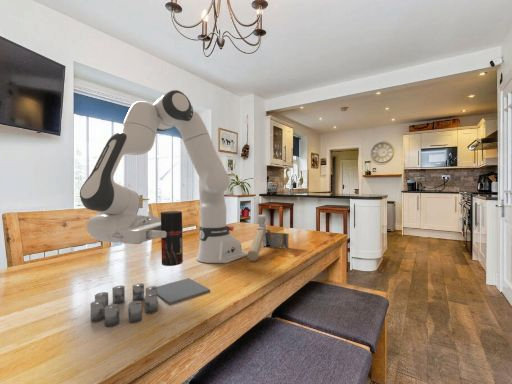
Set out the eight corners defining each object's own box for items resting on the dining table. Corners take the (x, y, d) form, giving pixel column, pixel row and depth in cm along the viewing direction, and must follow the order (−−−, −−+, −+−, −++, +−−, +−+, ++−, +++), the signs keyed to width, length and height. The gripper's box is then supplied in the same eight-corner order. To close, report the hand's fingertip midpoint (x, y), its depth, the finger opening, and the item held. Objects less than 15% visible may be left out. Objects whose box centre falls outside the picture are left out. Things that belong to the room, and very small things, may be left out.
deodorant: (182, 265, 76) (181, 213, 76) (160, 266, 75) (159, 213, 75) (183, 259, 82) (182, 210, 82) (163, 260, 81) (162, 211, 80)
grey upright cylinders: (146, 292, 80) (145, 279, 80) (169, 311, 69) (169, 295, 68) (83, 309, 69) (83, 294, 69) (99, 335, 58) (99, 317, 58)
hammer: (257, 239, 109) (266, 214, 137) (246, 239, 110) (257, 214, 138) (259, 273, 113) (267, 242, 142) (248, 273, 114) (258, 242, 142)
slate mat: (188, 279, 91) (188, 278, 91) (210, 291, 81) (210, 289, 81) (150, 290, 82) (150, 288, 82) (169, 304, 72) (169, 302, 72)
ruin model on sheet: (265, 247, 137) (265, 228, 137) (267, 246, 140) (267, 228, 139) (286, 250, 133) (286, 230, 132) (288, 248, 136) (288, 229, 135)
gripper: (107, 224, 72) (150, 226, 68) (156, 215, 92) (192, 216, 88) (108, 247, 72) (151, 251, 68) (156, 233, 92) (192, 235, 88)
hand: (174, 231), depth 78 cm, fingers closed on deodorant, 6 cm apart
